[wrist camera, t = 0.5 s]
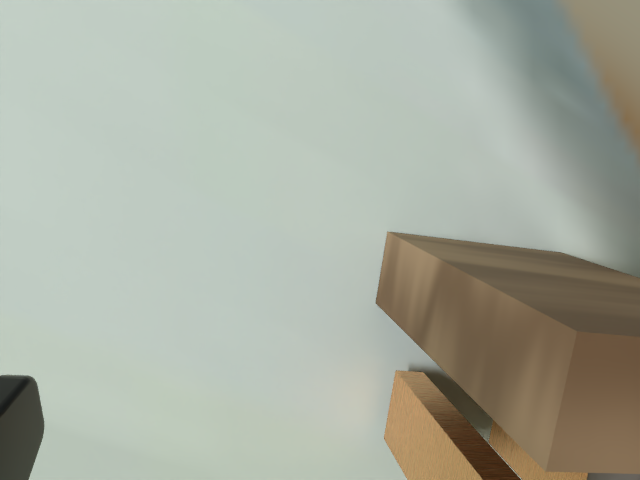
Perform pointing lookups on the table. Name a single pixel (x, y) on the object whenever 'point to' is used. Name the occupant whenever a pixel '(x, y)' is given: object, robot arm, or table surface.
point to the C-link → (451, 439)
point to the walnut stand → (528, 344)
